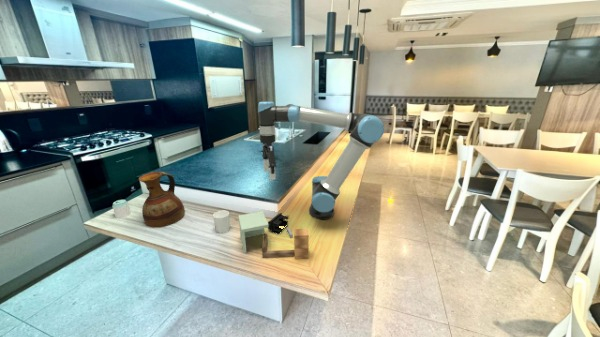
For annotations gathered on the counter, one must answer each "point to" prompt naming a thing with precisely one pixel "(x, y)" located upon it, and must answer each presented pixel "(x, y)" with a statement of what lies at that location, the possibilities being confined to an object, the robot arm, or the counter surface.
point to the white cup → (222, 221)
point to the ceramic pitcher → (161, 201)
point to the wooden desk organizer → (299, 250)
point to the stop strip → (289, 232)
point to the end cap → (277, 223)
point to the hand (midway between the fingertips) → (269, 175)
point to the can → (121, 209)
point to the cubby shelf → (251, 226)
